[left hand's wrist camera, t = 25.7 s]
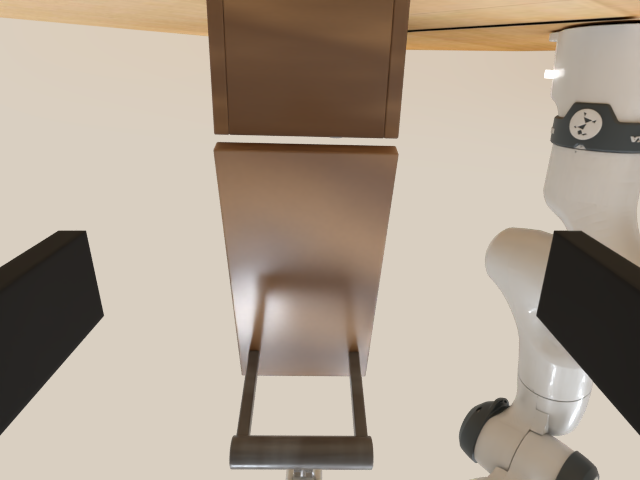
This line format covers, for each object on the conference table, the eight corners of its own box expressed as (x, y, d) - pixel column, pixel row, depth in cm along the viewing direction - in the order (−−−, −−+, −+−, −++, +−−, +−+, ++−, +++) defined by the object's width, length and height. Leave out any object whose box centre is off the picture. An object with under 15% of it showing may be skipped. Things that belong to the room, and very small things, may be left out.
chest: (367, -13, 34) (361, 112, 37) (252, -17, 34) (255, 109, 37) (418, -92, 18) (398, 138, 21) (200, -100, 18) (214, 134, 21)
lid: (364, 366, 32) (378, 489, 25) (243, 364, 32) (224, 488, 25) (396, 145, 22) (434, 252, 15) (216, 141, 22) (170, 248, 15)
